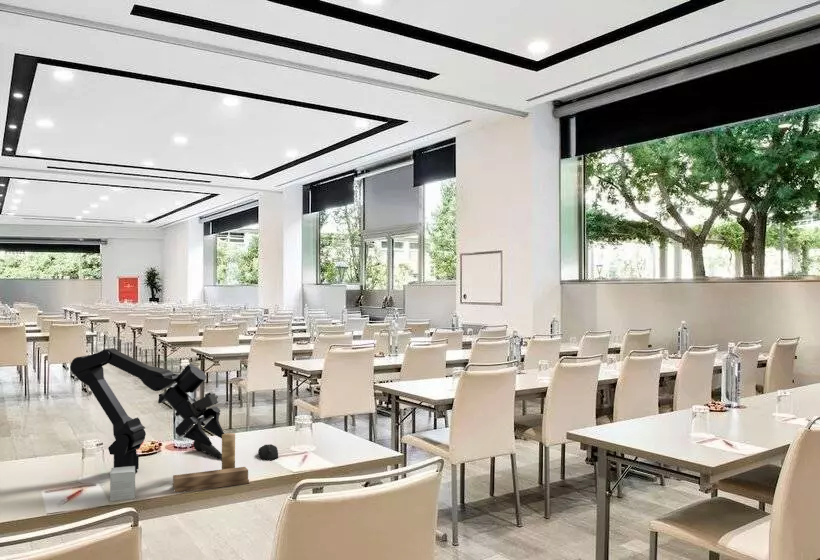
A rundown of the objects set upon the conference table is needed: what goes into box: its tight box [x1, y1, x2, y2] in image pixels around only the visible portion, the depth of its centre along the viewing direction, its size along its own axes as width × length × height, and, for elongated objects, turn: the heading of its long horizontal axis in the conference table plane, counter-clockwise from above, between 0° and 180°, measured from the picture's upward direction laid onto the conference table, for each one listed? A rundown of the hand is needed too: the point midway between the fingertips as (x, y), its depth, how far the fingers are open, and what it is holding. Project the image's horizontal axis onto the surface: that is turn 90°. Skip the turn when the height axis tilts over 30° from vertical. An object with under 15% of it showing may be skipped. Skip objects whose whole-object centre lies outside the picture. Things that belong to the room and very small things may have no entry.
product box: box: [109, 466, 136, 502], centre depth 177 cm, size 6×6×7 cm
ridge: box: [172, 466, 250, 493], centre depth 187 cm, size 20×6×4 cm, turn 117°
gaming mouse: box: [257, 444, 279, 462], centre depth 218 cm, size 6×15×4 cm, turn 18°
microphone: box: [193, 436, 222, 461], centre depth 221 cm, size 6×6×20 cm
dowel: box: [221, 432, 236, 470], centre depth 195 cm, size 4×4×12 cm
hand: (217, 441), depth 196 cm, fingers open, 9 cm apart
